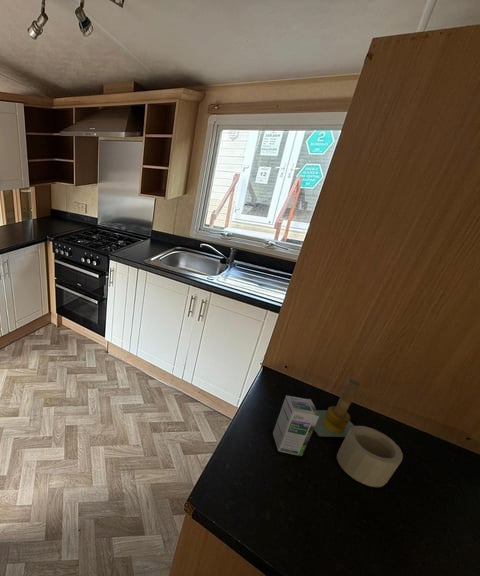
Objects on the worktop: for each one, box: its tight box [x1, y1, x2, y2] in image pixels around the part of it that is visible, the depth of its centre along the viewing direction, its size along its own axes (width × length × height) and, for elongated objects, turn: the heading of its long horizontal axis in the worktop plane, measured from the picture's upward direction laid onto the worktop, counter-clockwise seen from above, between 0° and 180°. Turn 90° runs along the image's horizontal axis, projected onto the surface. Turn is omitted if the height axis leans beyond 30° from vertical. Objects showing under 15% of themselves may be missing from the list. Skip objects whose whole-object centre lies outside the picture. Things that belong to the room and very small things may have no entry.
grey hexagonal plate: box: [313, 409, 355, 438], centre depth 88 cm, size 12×9×1 cm
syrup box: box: [272, 394, 319, 457], centre depth 79 cm, size 6×6×14 cm
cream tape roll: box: [336, 425, 404, 488], centre depth 75 cm, size 10×10×9 cm
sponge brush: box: [322, 379, 361, 434], centre depth 84 cm, size 5×5×16 cm
